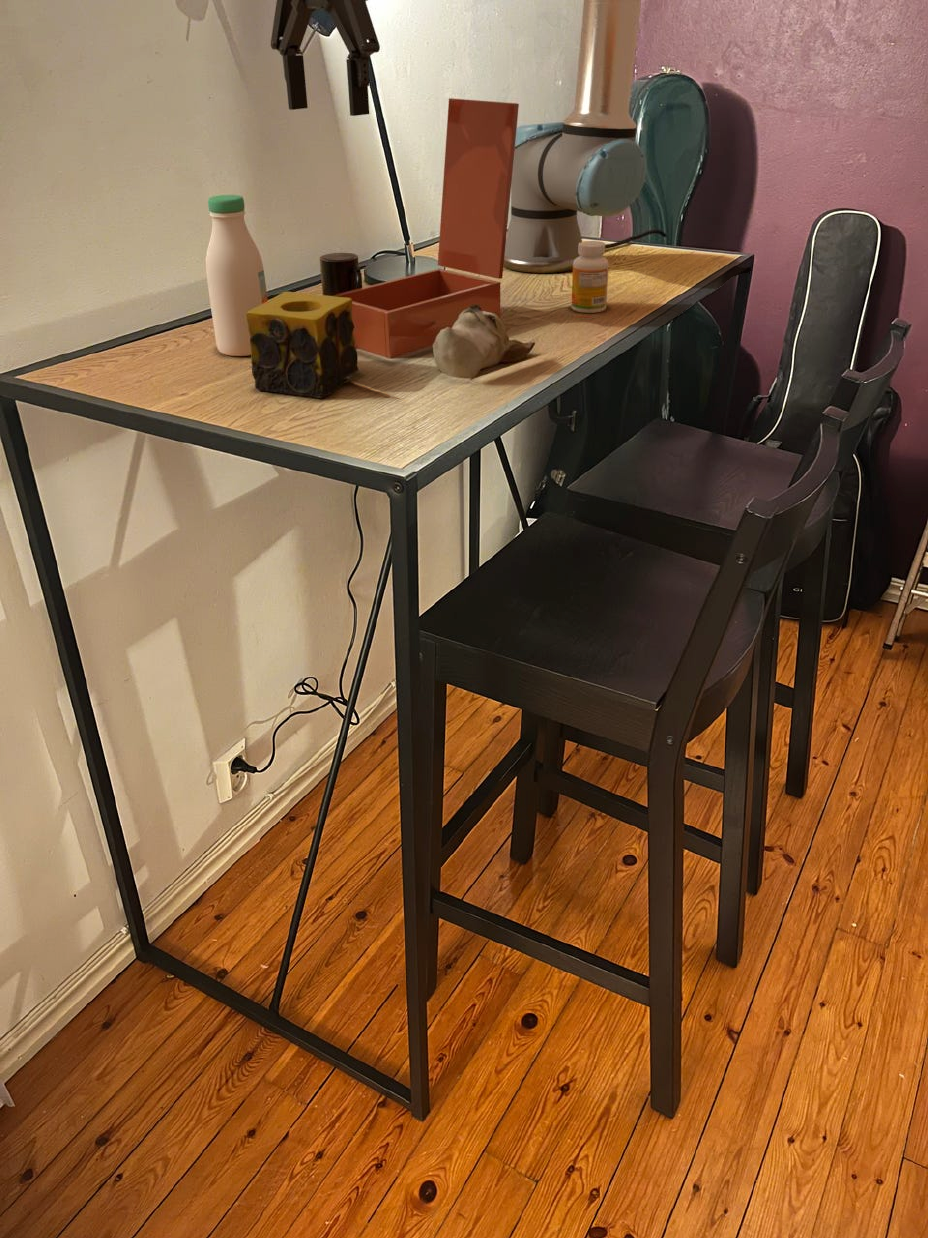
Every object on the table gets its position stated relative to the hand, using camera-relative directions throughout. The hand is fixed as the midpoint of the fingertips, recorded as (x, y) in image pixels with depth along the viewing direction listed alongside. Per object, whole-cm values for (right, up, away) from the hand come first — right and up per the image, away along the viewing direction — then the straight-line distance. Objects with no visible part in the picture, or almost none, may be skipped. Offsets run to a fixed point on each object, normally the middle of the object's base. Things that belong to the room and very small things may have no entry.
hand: (328, 111), depth 138 cm
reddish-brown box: (+12, -28, +8) cm, 32 cm away
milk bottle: (-12, -31, +4) cm, 34 cm away
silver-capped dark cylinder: (0, -24, +15) cm, 29 cm away
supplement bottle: (+38, -21, +19) cm, 47 cm away
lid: (+20, -8, +5) cm, 22 cm away
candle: (-2, -39, -8) cm, 40 cm away
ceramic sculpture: (+20, -36, -5) cm, 42 cm away
